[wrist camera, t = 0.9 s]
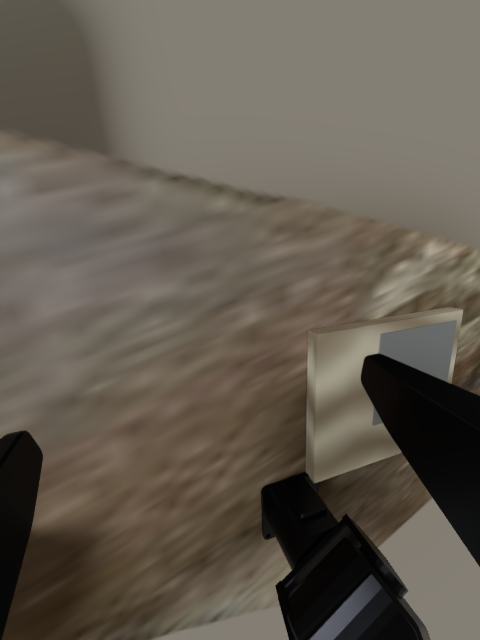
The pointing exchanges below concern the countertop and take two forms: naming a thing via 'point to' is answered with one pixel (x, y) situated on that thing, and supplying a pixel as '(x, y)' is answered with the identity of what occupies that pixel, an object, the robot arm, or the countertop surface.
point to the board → (348, 392)
